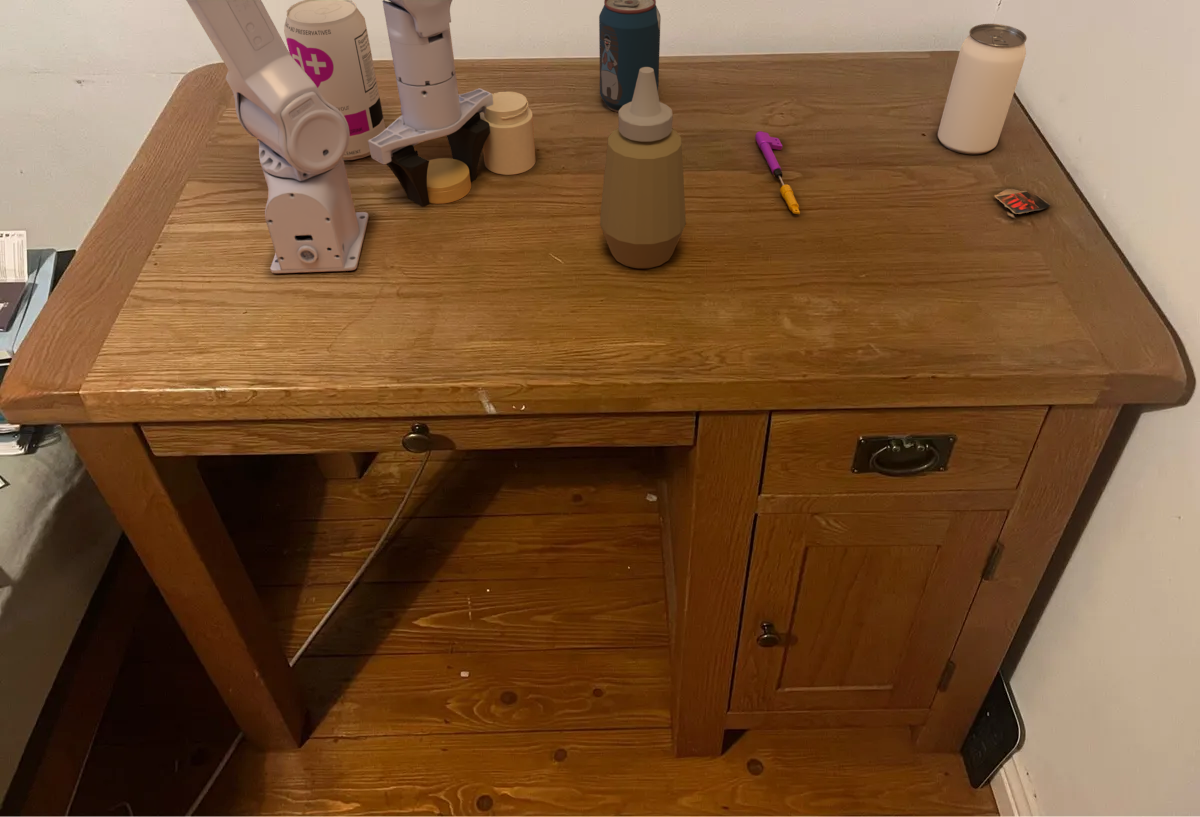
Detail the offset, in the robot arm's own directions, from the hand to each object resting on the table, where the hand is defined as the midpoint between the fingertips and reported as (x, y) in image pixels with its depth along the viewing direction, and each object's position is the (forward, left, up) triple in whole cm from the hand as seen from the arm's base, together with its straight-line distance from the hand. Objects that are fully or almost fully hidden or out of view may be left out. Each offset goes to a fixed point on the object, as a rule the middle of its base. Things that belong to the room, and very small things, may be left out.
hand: (444, 196), depth 97 cm
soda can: (+18, -21, +1) cm, 28 cm away
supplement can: (+10, +11, +1) cm, 15 cm away
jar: (+5, -7, +1) cm, 9 cm away
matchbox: (-7, -59, +1) cm, 59 cm away
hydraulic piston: (0, -36, +1) cm, 36 cm away
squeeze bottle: (-13, -20, +1) cm, 24 cm away
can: (+6, -58, +1) cm, 58 cm away
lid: (0, 0, +2) cm, 3 cm away
